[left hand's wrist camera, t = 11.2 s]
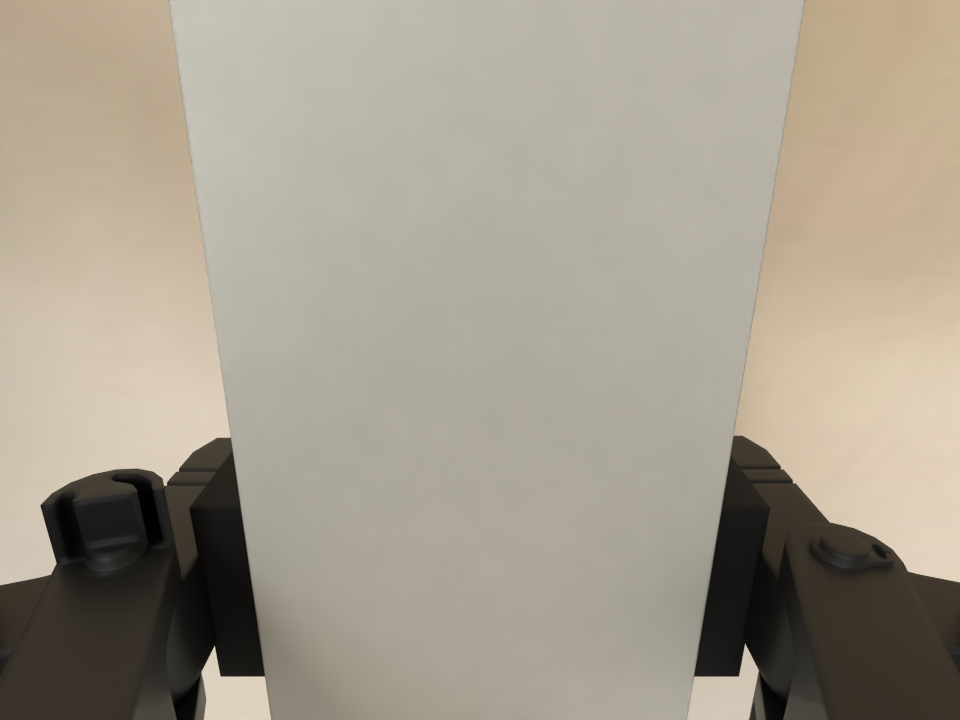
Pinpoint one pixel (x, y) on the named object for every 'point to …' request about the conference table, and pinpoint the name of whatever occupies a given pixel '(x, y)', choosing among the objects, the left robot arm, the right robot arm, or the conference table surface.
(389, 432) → the beam
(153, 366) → the conference table surface
